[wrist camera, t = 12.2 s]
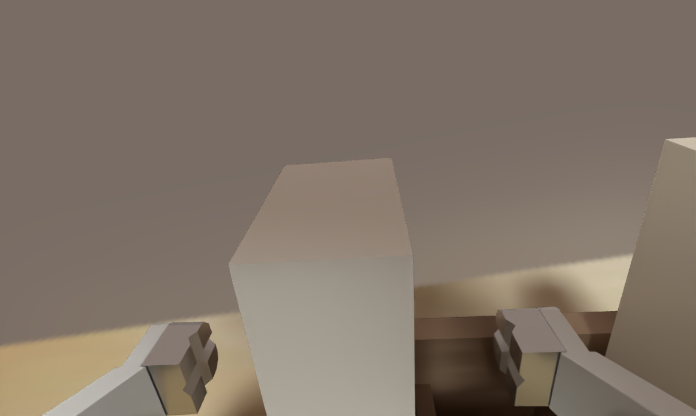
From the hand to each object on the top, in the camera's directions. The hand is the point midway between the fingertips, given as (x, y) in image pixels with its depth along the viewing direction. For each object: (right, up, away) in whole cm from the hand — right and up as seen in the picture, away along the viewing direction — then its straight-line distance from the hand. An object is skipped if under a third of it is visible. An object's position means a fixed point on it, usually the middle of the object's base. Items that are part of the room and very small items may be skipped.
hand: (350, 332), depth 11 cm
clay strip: (+1, -9, +3) cm, 10 cm away
